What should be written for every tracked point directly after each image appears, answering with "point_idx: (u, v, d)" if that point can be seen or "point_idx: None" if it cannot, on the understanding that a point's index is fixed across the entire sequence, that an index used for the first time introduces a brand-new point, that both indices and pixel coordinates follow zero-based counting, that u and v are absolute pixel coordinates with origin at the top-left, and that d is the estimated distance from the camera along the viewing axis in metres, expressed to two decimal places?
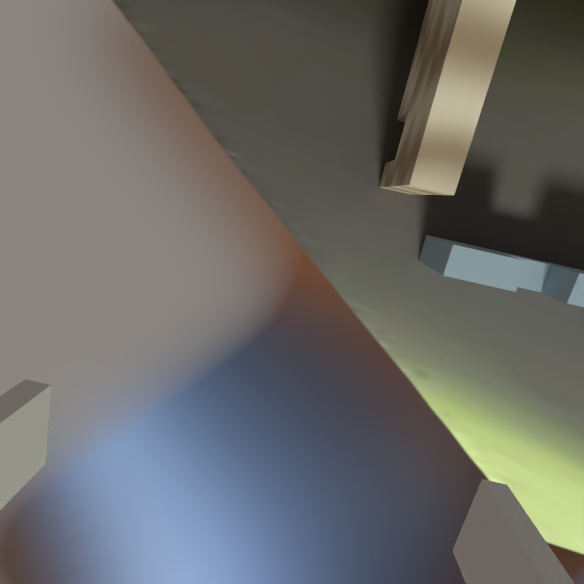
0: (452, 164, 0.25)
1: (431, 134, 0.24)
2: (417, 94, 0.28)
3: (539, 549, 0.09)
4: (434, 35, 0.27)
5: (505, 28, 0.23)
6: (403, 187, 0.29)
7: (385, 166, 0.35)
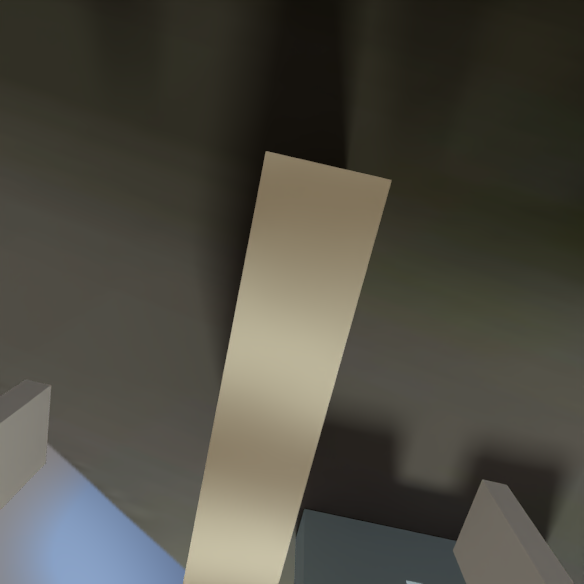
0: None
1: None
2: None
3: (539, 549, 0.09)
4: None
5: (314, 442, 0.11)
6: None
7: None
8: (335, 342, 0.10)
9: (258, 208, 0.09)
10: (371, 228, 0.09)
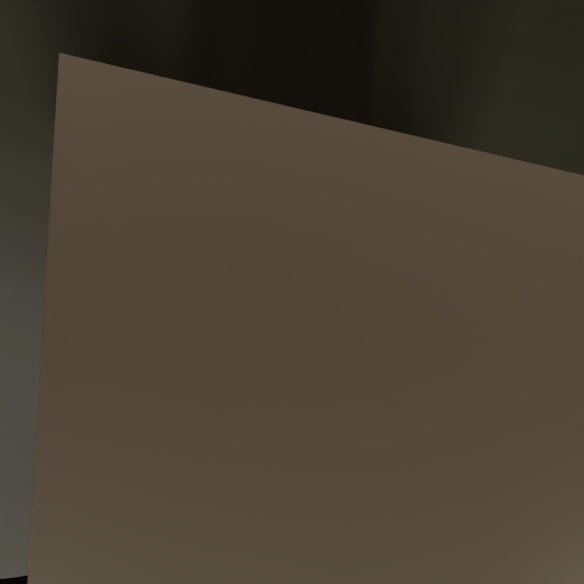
0: None
1: None
2: None
3: None
4: None
5: None
6: None
7: None
8: None
9: (55, 364, 0.02)
10: None
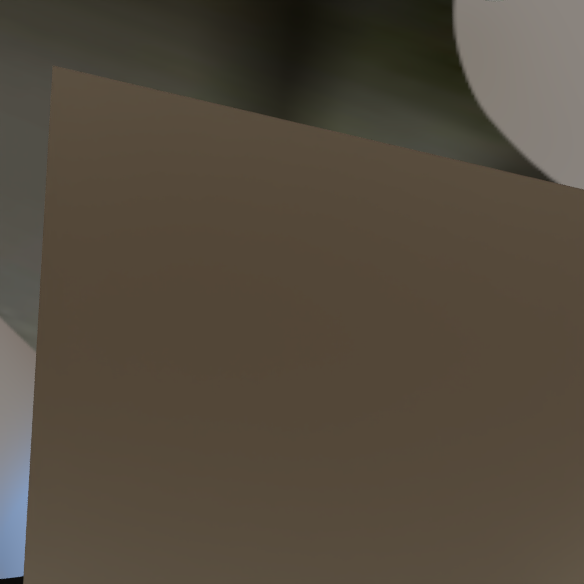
0: None
1: None
2: None
3: None
4: None
5: None
6: None
7: None
8: None
9: (49, 378, 0.02)
10: None
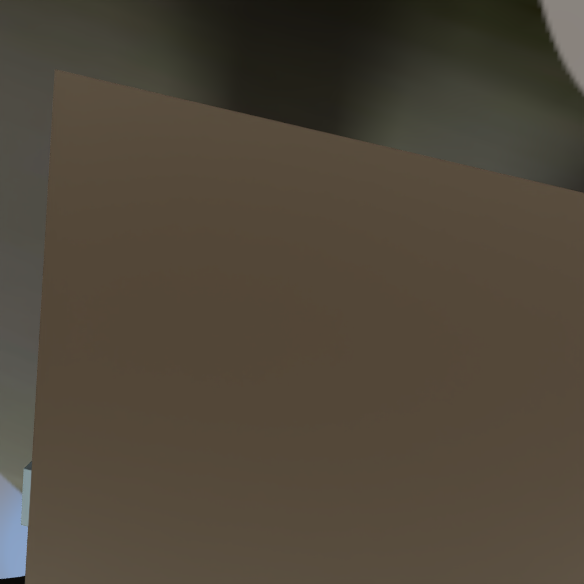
0: None
1: None
2: None
3: None
4: None
5: None
6: None
7: None
8: None
9: (51, 379, 0.02)
10: None
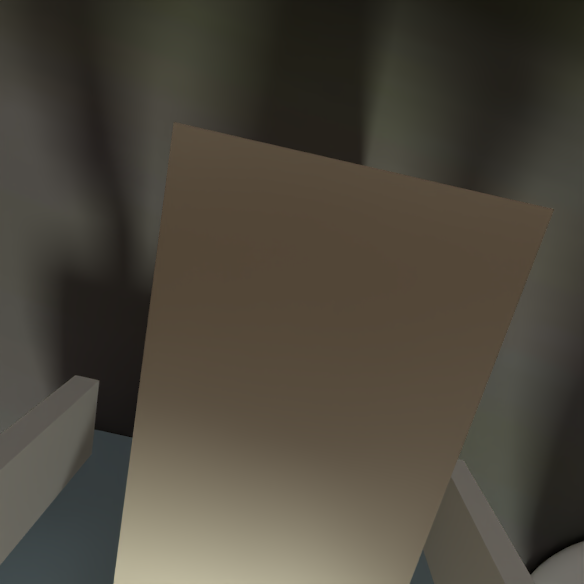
0: None
1: None
2: None
3: (484, 515, 0.10)
4: None
5: None
6: None
7: None
8: None
9: (161, 288, 0.03)
10: (483, 343, 0.03)
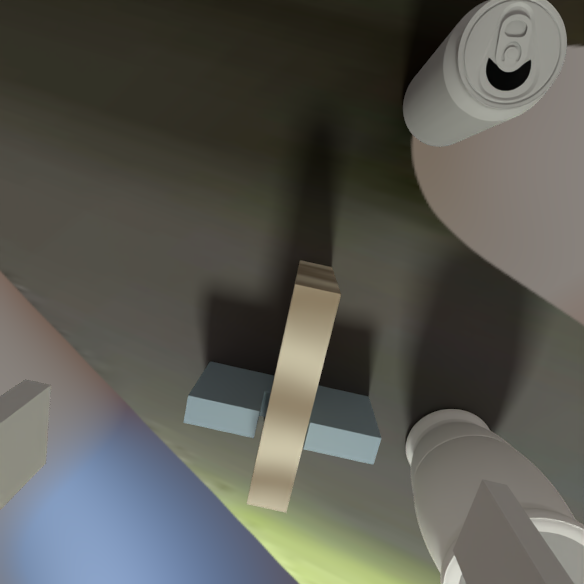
0: (281, 490, 0.28)
1: (261, 468, 0.28)
2: None
3: (539, 549, 0.09)
4: None
5: (314, 395, 0.26)
6: None
7: None
8: (321, 354, 0.26)
9: (292, 303, 0.25)
10: (334, 311, 0.25)
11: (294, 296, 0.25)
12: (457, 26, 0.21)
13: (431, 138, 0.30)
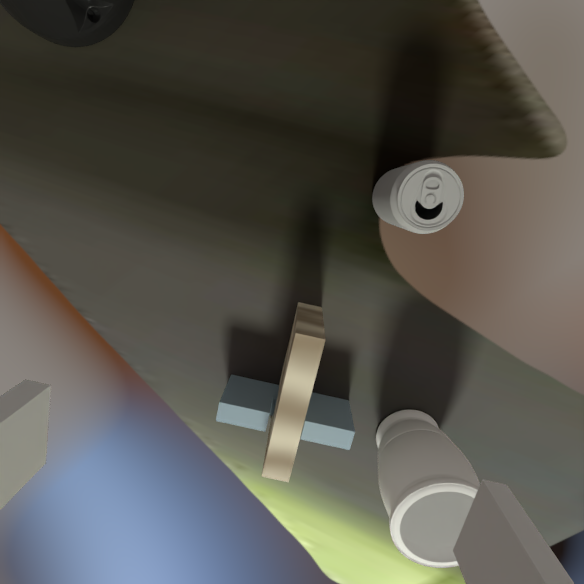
0: (285, 467, 0.42)
1: (271, 452, 0.41)
2: (277, 398, 0.46)
3: (539, 549, 0.09)
4: (284, 369, 0.44)
5: (307, 404, 0.40)
6: None
7: None
8: (312, 377, 0.39)
9: (293, 345, 0.38)
10: (321, 350, 0.38)
11: (295, 340, 0.38)
12: (398, 177, 0.34)
13: None
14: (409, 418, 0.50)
